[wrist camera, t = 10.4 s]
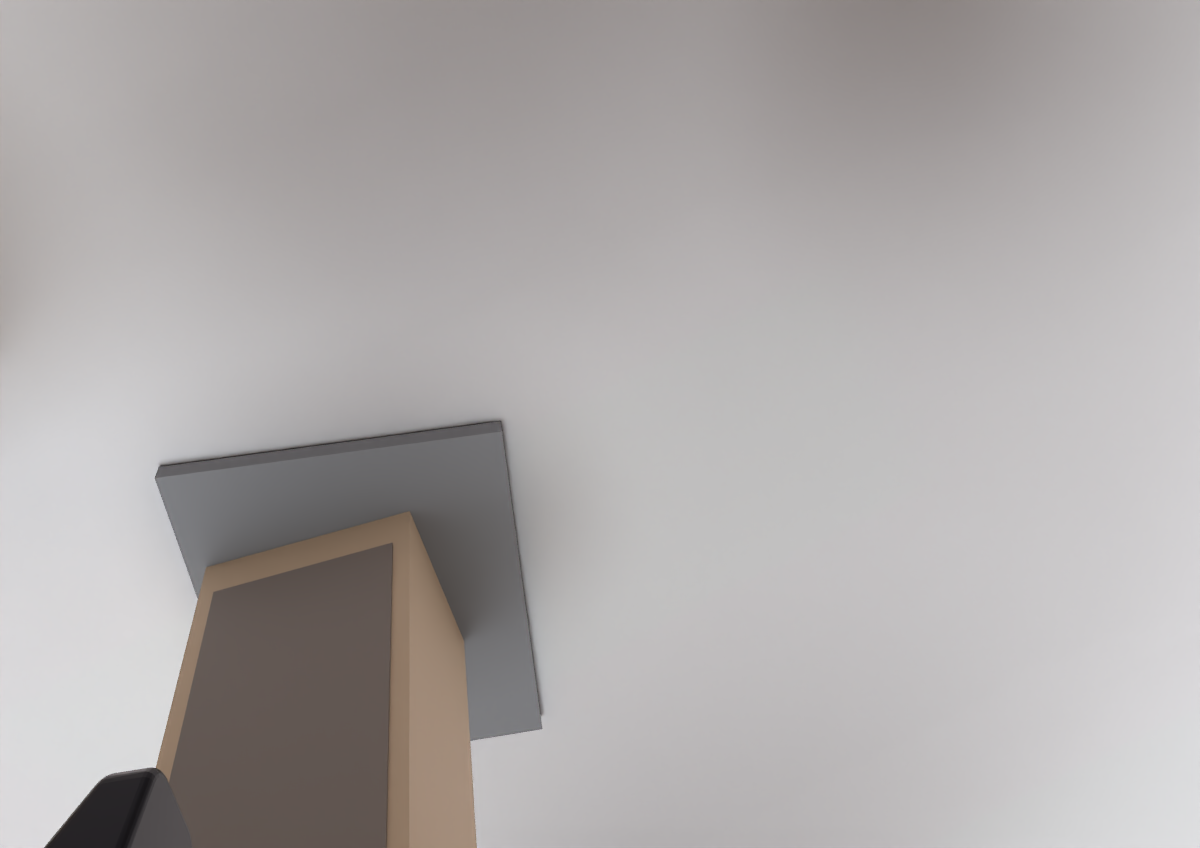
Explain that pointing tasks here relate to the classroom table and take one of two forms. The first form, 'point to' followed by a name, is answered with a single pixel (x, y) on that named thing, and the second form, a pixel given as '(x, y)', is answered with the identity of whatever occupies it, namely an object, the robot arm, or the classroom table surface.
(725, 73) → the classroom table surface
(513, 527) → the mat
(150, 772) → the robot arm
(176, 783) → the stub
